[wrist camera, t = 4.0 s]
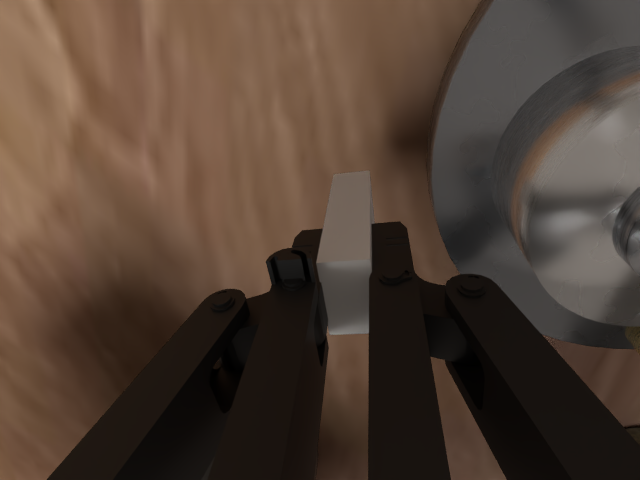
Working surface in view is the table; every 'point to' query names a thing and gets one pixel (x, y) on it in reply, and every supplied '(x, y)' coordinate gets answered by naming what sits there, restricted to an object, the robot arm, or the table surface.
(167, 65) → the table surface
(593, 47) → the turntable
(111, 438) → the robot arm
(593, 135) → the cover
